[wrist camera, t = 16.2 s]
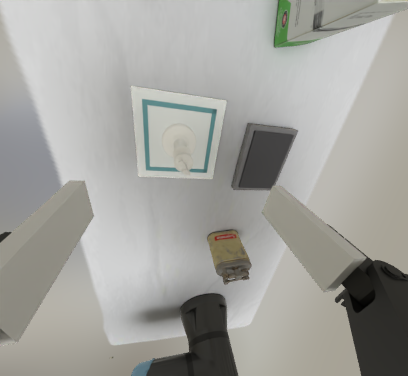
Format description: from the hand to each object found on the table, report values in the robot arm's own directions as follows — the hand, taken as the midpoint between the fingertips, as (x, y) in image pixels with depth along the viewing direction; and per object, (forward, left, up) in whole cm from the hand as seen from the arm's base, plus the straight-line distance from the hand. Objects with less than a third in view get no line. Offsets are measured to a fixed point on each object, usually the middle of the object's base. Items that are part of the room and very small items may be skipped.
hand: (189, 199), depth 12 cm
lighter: (-21, -11, -14) cm, 27 cm away
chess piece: (0, 0, -14) cm, 14 cm away
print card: (0, 0, -14) cm, 14 cm away
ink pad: (-2, -14, -14) cm, 20 cm away
